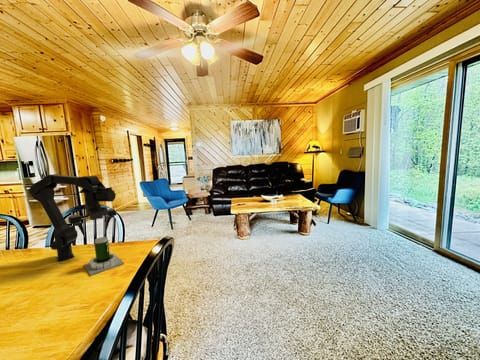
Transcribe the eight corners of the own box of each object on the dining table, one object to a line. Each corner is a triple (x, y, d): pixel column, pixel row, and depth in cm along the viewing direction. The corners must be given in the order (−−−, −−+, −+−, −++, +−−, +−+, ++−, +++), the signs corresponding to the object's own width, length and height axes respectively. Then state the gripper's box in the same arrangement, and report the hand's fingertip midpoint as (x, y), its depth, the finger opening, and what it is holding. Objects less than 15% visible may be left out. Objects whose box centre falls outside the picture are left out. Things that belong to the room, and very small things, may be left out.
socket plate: (83, 265, 97) (83, 264, 97) (115, 255, 106) (114, 254, 106) (90, 276, 88) (90, 274, 88) (124, 264, 97) (123, 262, 97)
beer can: (96, 267, 93) (94, 242, 92) (96, 263, 98) (94, 238, 96) (110, 264, 96) (108, 239, 95) (110, 259, 101) (107, 235, 99)
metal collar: (87, 264, 97) (87, 259, 96) (112, 256, 104) (112, 251, 104) (93, 272, 90) (92, 266, 89) (119, 262, 97) (119, 257, 97)
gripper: (70, 208, 89) (74, 243, 90) (118, 200, 102) (121, 231, 104) (66, 204, 96) (70, 236, 98) (111, 197, 110) (114, 226, 112)
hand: (95, 232), depth 103 cm, fingers open, 9 cm apart
